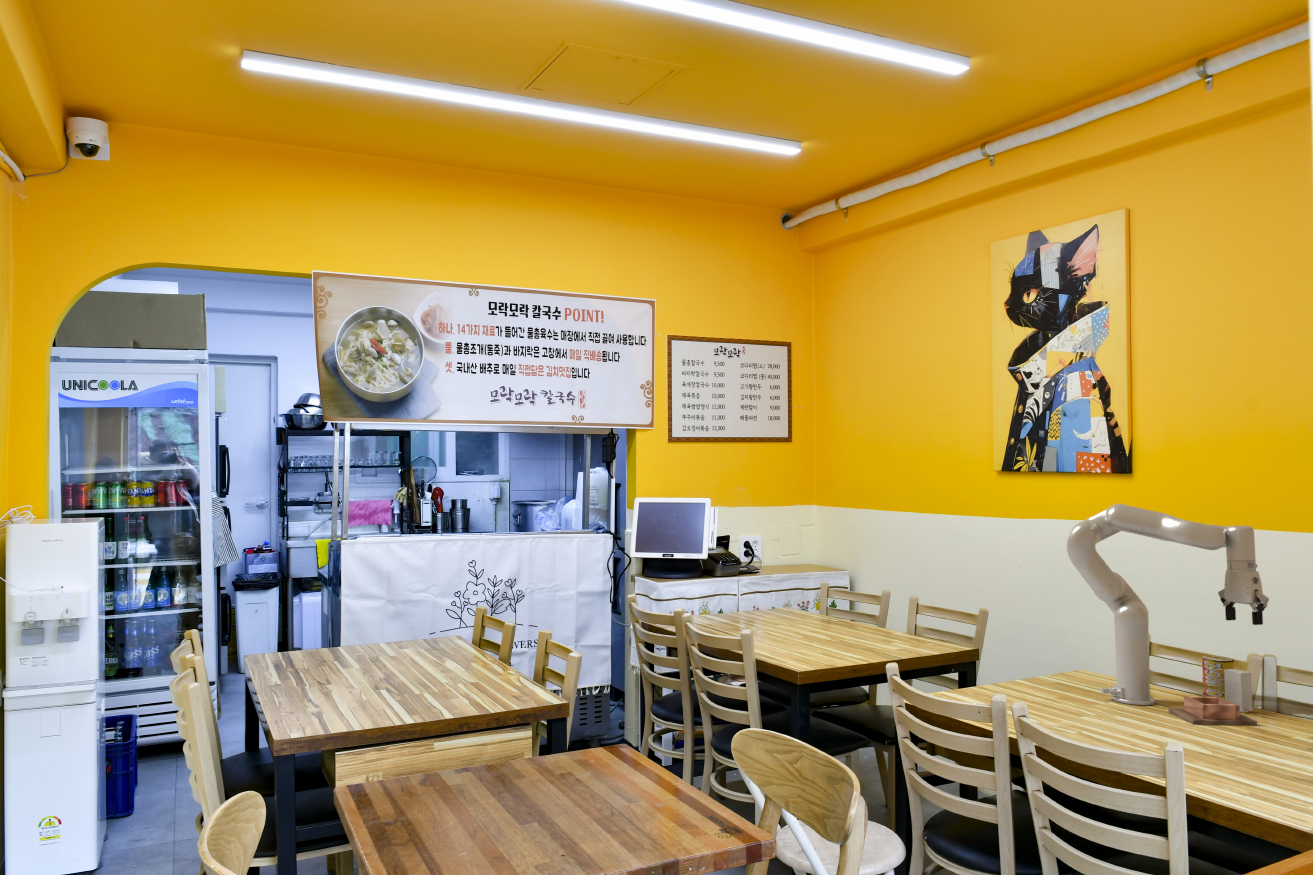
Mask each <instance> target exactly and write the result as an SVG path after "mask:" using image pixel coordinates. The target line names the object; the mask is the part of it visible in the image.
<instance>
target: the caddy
mask: <svg viewBox="0 0 1313 875" xmlns="http://www.w3.org/2000/svg"><path fill="white" fill-rule="evenodd" d="M1167 709H1168V713H1169V714H1171V715H1173V716H1176V717H1177V718H1179V719H1181V720H1182V721H1186V722H1187V723H1189V724H1192V725H1196V726H1197V725H1198V726H1199V725H1202V726H1203V725H1204V726H1205V725H1206V726H1207V725H1209V726H1213V725H1214V726H1220V725H1219V724H1222V725H1221V726H1258V721H1257V720H1255V719H1253V718H1251V717H1248V716H1247V715H1245V714H1241V712H1240V705H1237V704H1235V703H1232V702H1230V701H1228V700H1225V698H1220V697H1210V696H1183V708H1178V707H1177V708H1173V707H1168V708H1167ZM1223 724H1224V725H1223Z"/></svg>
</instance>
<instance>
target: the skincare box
mask: <svg viewBox="0 0 1313 875" xmlns="http://www.w3.org/2000/svg"><path fill="white" fill-rule="evenodd" d="M1224 677H1225V698H1224V699H1225V700H1228V701H1230V702H1232V703H1235V704H1237V705H1240V713H1242V712H1244V713H1249V712H1248V711H1252V712H1253V695H1252V694H1253V693H1252V692H1253V690H1252V673H1251V672H1250V671H1245V670H1240V669H1236V668H1234V669H1225V670H1224Z"/></svg>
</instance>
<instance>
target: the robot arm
mask: <svg viewBox="0 0 1313 875" xmlns="http://www.w3.org/2000/svg"><path fill="white" fill-rule="evenodd" d="M1120 532H1125V533H1130V534H1134V535H1138V536H1142V537H1148V538H1152V539H1156V540H1160V541H1164V542H1165V541H1166V542H1172V543H1177V544H1182V545H1185V546H1190V547H1192V548H1193V547H1194V548H1198V549H1203V550H1208V551H1217V550H1219V549H1221V548H1225V550H1226V552H1225V554H1226V570H1225V575H1224V588H1223V589H1221V590H1220V591H1218V592H1217V594H1218V596H1219V598H1220V602H1221V603H1222V606H1223V608H1224V609H1225V614H1224V615H1225V620H1226V621H1236V619H1237V617H1236V616H1237V614H1236V612H1237V611H1236V607H1235V605H1236V604H1241V605H1243V604H1244V605H1249V606H1250V608H1252V611H1251V622H1252V625H1254V626H1261V625H1263V624H1264V620H1263V619H1264V618H1263V617H1264V615H1263V612H1265V609H1266V608H1268V603H1269V601H1270V598H1269V597H1268V596H1266V595H1265V594H1264V592H1263V585H1262V584H1263V583H1262V580H1261V576H1260V573H1259V571H1257V568H1258V564H1257V562H1256V559H1257V558H1256V544H1255V543H1256V542H1255V541H1256V539H1255V529H1254V528H1253V527H1252V526H1250V525H1249V526H1248V525H1229V526H1226V525H1216V524H1205V523H1201V522H1194V521H1190V520H1186V519H1182V518H1179V517H1177V516H1173V515H1171V514H1168V513H1164V512H1159V511H1154V510H1149V509H1144V508H1140V507H1137V506H1136V507H1135V506H1131V505H1126V504H1123V503H1116V504H1113V505H1111V506H1109V507H1108V508H1106V509H1104V510H1103V511H1100V512H1098V513H1097V514H1094V515H1093V516H1090V517H1088V518H1086V519H1084V520H1083V521H1080V522H1078V523H1077V524H1075V525H1074V526H1073V527H1072V529H1071V530H1070V532H1069V534H1068V537H1067V541H1066V542H1067V543H1066V551H1067V555H1068V557H1069V560H1070V561H1071V563H1072V564H1073V566H1074V567H1075V569H1076V570H1077V572H1079V574H1080V575H1081V577H1082V578H1083V580H1084V581H1085V582H1086V583H1087V585H1088V586H1089V587H1090V588H1091V590H1092V592H1093V593H1094V594H1095V596H1096V597H1097V598H1098V599H1099V600H1101V601H1103V602H1104V603H1105V604H1106V606H1107V607H1108V608H1109V610H1110V611H1111V612H1112V613H1113V614H1114V616H1113V617H1114V637H1115V640H1114V641H1115V643H1114V644H1115V668H1116V669H1115V670H1116V671H1115V672H1116V673H1115V675H1116V676H1115V678H1116V683H1115V684H1113V686H1111V687H1107V686H1106V687H1102V686H1101V688H1100V693H1101V694H1102V695H1103V694H1104V695H1107V694H1108V695H1110V696H1111V700H1113V701H1115V702H1118V703H1120V704H1121V703H1122V704H1128V705H1135V706H1151V705H1155V704H1156V703H1157V700H1156V698H1155V697H1153V696H1151V677H1150V676H1151V674H1150V672H1151V671H1150V645H1149V643H1150V640H1149V638H1150V636H1149V634H1150V632H1149V621H1150V620H1149V619H1150V618H1149V610H1148V608H1147V606H1146V605H1145V603H1144V602H1143V600H1141V598H1140V596H1138V595H1137V594H1136V592H1135V591H1134V590H1133V588H1132V587H1131V586H1130V585H1129V583H1128V582H1127V581H1126V580H1125V579H1124V578H1123V577H1122V575H1120V574H1119V573H1117V572H1114V571H1113V570H1112V569H1111V568H1110V566H1109V565H1108V564H1107V563H1106V561H1105V560H1104V558H1103V557H1102V556H1101V555H1100V554H1099V553H1098V551H1097V550H1096V549H1097V548H1096V545H1097V544H1098V543H1100V542H1102V541H1104V540H1107V539H1109V538H1110V537H1112V536H1114V535H1116V534H1117V533H1120Z"/></svg>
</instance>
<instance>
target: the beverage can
mask: <svg viewBox="0 0 1313 875" xmlns="http://www.w3.org/2000/svg"><path fill="white" fill-rule="evenodd" d="M1206 656H1207V655H1205V656H1204V655H1203V656H1202V657H1201V664H1202V685H1203V684H1204V685H1208V686H1214V687H1217V688H1218V691H1219V688H1220V689H1224V690H1225V677H1224V670H1225V669H1235V659H1234V658H1230V657H1226V656H1219V655H1217V656H1216V655H1211V656H1212V657H1218V658H1222V659H1227V660H1222V659H1216V658H1212V657H1206ZM1228 660H1232V661H1228ZM1211 667H1213V668H1211ZM1220 669H1222V670H1220ZM1214 690H1216V689H1214ZM1214 690H1213V689H1212V690H1211V689H1210V688H1209V689H1203V688H1202V694H1203V695H1204V696H1205V697H1220V698H1223V699H1225V694H1224V693H1220V692H1218V691H1214ZM1224 692H1225V691H1224Z"/></svg>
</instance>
